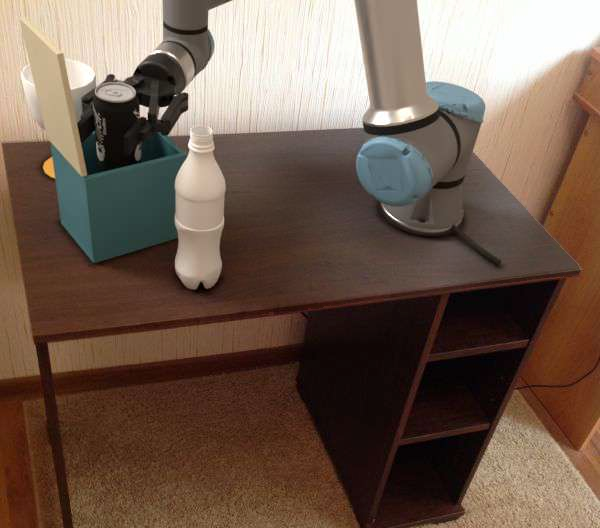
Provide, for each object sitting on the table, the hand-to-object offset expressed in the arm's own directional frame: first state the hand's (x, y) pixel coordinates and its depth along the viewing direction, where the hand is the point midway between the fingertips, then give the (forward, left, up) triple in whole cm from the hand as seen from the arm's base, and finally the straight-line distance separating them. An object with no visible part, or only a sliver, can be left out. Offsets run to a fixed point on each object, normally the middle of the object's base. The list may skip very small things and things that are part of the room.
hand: (102, 139), depth 108 cm
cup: (+24, -4, -19) cm, 31 cm away
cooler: (+3, -4, -18) cm, 19 cm away
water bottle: (-14, -8, -19) cm, 25 cm away
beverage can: (+3, -4, -7) cm, 9 cm away
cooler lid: (+3, +5, +6) cm, 8 cm away
